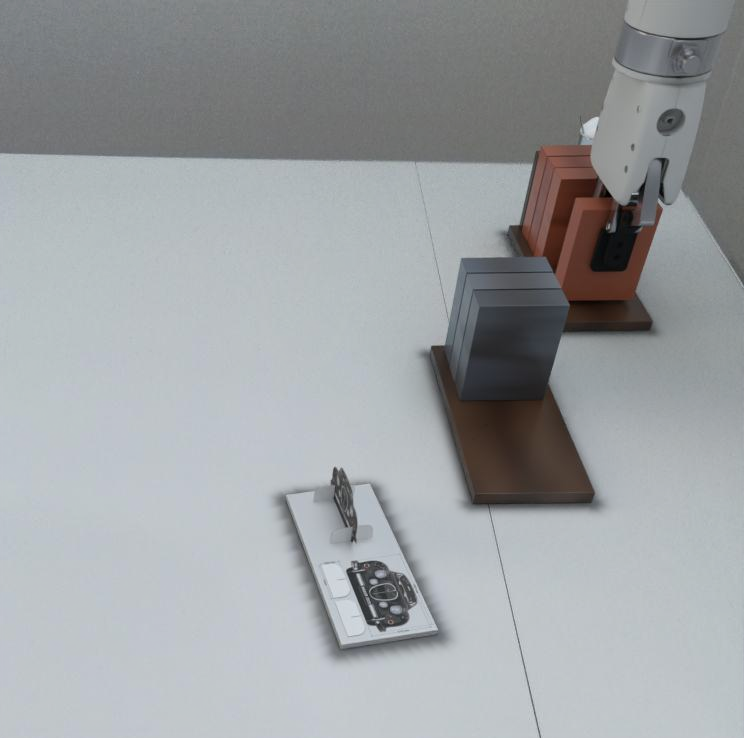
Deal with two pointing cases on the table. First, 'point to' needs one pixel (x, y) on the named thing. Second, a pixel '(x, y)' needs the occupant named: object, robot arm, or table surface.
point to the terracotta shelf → (588, 307)
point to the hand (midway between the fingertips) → (602, 259)
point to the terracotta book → (580, 249)
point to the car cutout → (359, 565)
